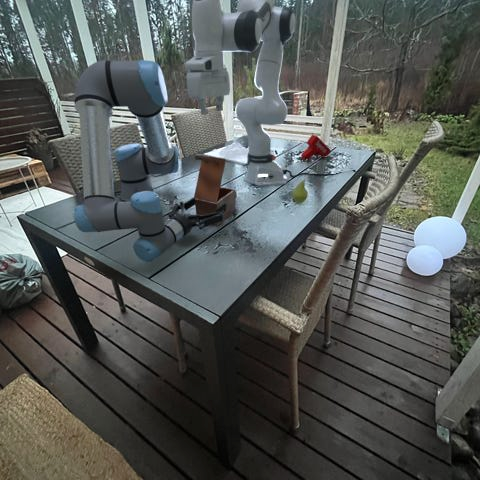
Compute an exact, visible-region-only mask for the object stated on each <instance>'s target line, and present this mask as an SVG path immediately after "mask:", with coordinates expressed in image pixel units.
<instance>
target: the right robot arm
mask: <svg viewBox="0 0 480 480" xmlns="http://www.w3.org/2000/svg"><path fill="white" fill-rule="evenodd" d="M296 22H297V19H296V12H295V10H294V9H293V8H292V7H289V6H276V0H238V1H237V5H236V12H227V13H225V11H223V9H222V6H221V0H192V5H191V25H192V27H191V28H192V36H193V39H194V51H193V52H194V53H193V54H194V56H192V58H190V59H189V60H187V61H186V62H185V70H186V71H187V74H186V83H187V93H188V96H189V98H190V100H194V101H197V104H198V106H199V109H200V114H201V115H202V116H205V115H206V116H207V115H208V114H209V108H207V105H206V103H207V100H206V99H213V98H216V101H217V102H216V105H215V111H216V112H221V111H223V105H224V101H225V96H229V95H230V93H231V82H230V75H229V72H228V68H227V67H226V64H225V58H224V55H225V54H224V52H225V53H226V52H227V53H228V52H229V53H231V52H233V53H234V52H243V53H253V52H256V50H257V49H258V48H259V46H260V44H261V42H262V44H261V47H260V50H259V54H258V58H257V63H256V67H255V74H254V80H253V82H254V85H255V87H256V88H257V89H258V90H260V91H261V92H262V96H261V97H246V98H242V99H238V101H237V103H236V105H235V110H234V112H235V116H236V118H237V120H238V121H239V122H240V123H241V124H242V126H243V127H244V129H245V132H246V134H247V135H246V136H247V141H248V143H247V144H248V147H249V152H248V155H247V163H248V164H247V171H246V175H245V177H244V179H245V180H244V181H245V182H246V183H249V184H252V185H255V186H257V187H267V186H279V185H286V184H288V182H289V181H288V180H289V179H288V177H287V176H286V175H287V174H289V177H290V178H295V177H299V176H303V175H304V176H305V175H308V176H309V175H310V176H317V177H318V176H319V177H328V176H336V175H339V174H342V172H339V171H338V172H339V173H336V172H335V173H336V174H332V173H314V174H309V173H310V172H299V173H298V174H295V175H293V173H292V171H291V170H290V169H289V170H288V169H287V168H286V167H283V166H281V165H280V164H279V163H277V162H276V161H275V160H276V158H277V157H276V156H275V154H273V152H271V145H272V139H271V135H270V134H269V133H268V132H267V131H266V130H264V128H263V125H264V126H265V125H266V126H276V125H282V124H283V123H284V122H285V121H286V119H287V116H288V106H287V104H286V103H285V101H284V100H283V98H282V96H281V94H280V90H279V82H280V75H281V70H282V65H283V58H284V56H283V55H284V46H286V44H287V42H288V41H289V40H290V39H291V38H292V37H293V35H294V33H295V29H296ZM351 171H352V172H354V173H356V172H357V171H356V169H354V170H351ZM324 174H325V175H324Z"/></svg>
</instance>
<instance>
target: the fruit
mask: <svg viewBox="0 0 480 480" xmlns="http://www.w3.org/2000/svg"><path fill="white" fill-rule="evenodd" d="M310 177H311V175H308V176H307V177H305V179H302V180H301V181H300V182H298V184H297V185H296V186H295V187H294V188H293V190H292V191H291V198H292V200H293V201H294V202H295V203H297V204H301V203H304V202H305V201H306V200H307V198H308V196H309V195H308V190H307V189H306V184H305V183H306V180H308V179H309V178H310Z"/></svg>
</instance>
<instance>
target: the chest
mask: <svg viewBox="0 0 480 480" xmlns="http://www.w3.org/2000/svg"><path fill="white" fill-rule="evenodd" d="M236 194H237V191H236V189H234V188H229V187H223V186H220V190H219V195H218V199H217V203H216V202H211V201H206V200H202V199H197V198H196V199H195V205H194V207H195V215H196V214H200V215H203V214H208V213H213V212H215V210H217V209H218V208H219V207H220V206H222V205H223V204H226V211H225V212H224V214H223V221H221V222H218V223H215V224H212V225H213V226H219V225H220V224H222V223H223V222H224V221H225V220H226V219H227V218H229V216H231V215H232V214H233V213H234V212H236V210H237V200H236V199H237V197H236ZM197 222H198V217H197ZM212 225H211V226H212Z"/></svg>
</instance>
